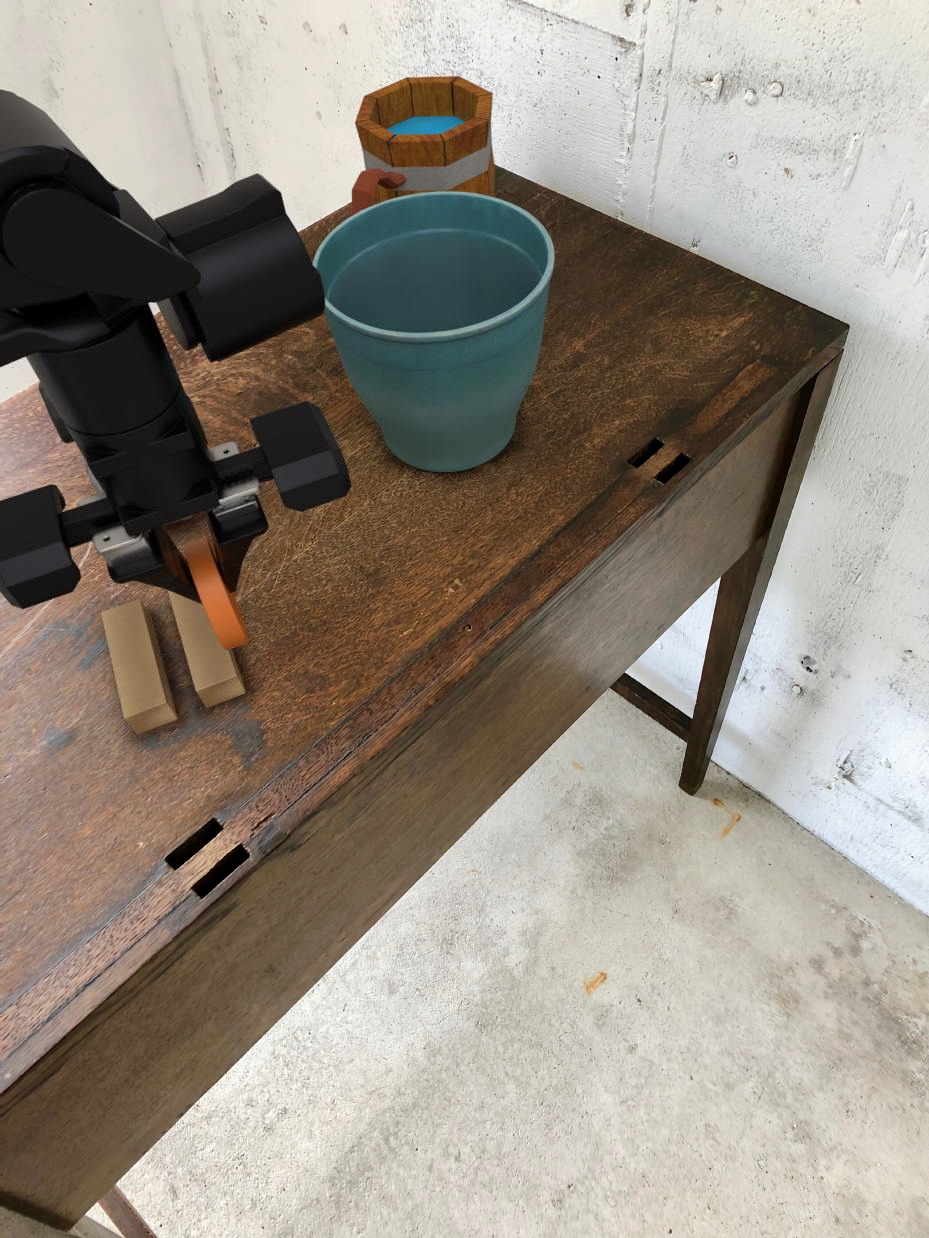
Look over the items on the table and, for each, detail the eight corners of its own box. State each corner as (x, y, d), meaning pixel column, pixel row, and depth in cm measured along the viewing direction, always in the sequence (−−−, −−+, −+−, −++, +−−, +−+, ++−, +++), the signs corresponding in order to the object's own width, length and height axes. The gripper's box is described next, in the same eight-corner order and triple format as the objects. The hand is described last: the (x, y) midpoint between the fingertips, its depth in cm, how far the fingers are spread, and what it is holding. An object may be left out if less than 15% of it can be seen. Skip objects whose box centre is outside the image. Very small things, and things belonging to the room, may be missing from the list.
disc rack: (137, 735, 62) (123, 718, 60) (113, 630, 68) (100, 612, 66) (246, 693, 64) (236, 675, 62) (214, 594, 69) (205, 575, 67)
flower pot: (558, 497, 73) (564, 324, 59) (344, 509, 74) (300, 342, 60) (543, 358, 83) (545, 183, 70) (355, 369, 84) (320, 199, 70)
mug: (416, 208, 100) (399, 65, 88) (522, 234, 96) (521, 87, 83) (321, 306, 90) (288, 160, 78) (434, 339, 86) (418, 190, 74)
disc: (235, 670, 55) (201, 608, 49) (208, 588, 59) (174, 521, 53) (258, 662, 55) (227, 599, 49) (230, 580, 59) (198, 513, 53)
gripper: (263, 253, 47) (320, 460, 60) (-91, 356, 44) (48, 553, 57) (326, 372, 41) (374, 575, 54) (-80, 503, 38) (73, 686, 51)
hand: (217, 592), depth 54 cm, fingers closed on disc, 1 cm apart
